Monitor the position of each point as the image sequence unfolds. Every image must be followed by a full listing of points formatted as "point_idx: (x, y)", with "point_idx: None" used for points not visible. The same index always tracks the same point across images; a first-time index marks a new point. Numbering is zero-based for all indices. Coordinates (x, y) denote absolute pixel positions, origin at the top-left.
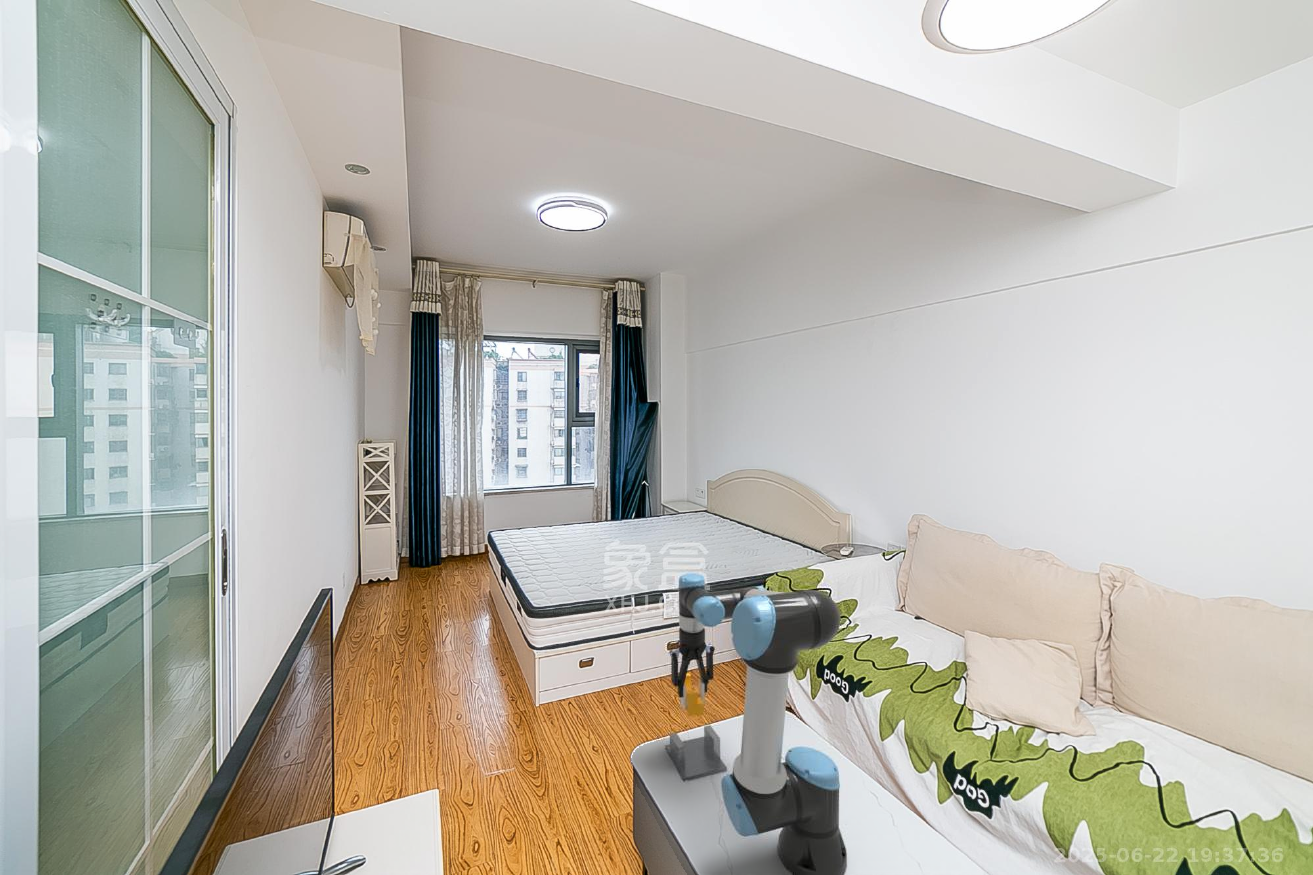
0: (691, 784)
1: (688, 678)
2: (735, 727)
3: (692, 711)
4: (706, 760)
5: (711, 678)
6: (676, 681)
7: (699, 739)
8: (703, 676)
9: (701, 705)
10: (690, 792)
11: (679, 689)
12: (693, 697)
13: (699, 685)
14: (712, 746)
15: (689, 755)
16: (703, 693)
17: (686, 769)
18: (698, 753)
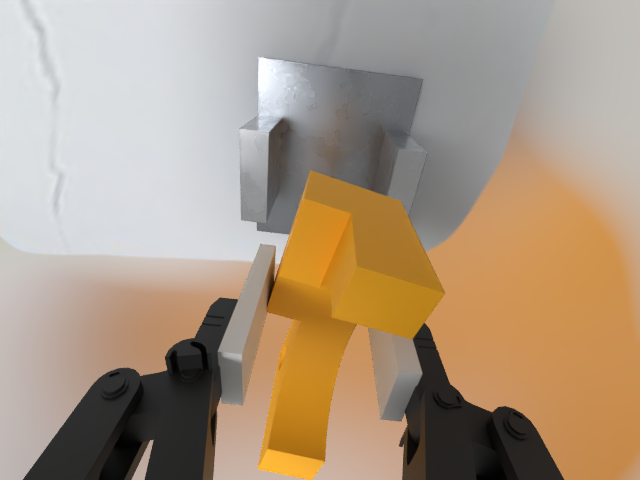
0: (407, 50)
1: (287, 433)
2: (151, 233)
3: (381, 202)
4: (306, 127)
5: (119, 379)
6: (527, 461)
7: (277, 225)
8: (198, 428)
9: (319, 198)
10: (436, 9)
11: (444, 372)
12: (390, 253)
13: (251, 359)
14: (274, 139)
15: (342, 175)
16: (250, 292)
17: (389, 116)
18: (312, 170)
